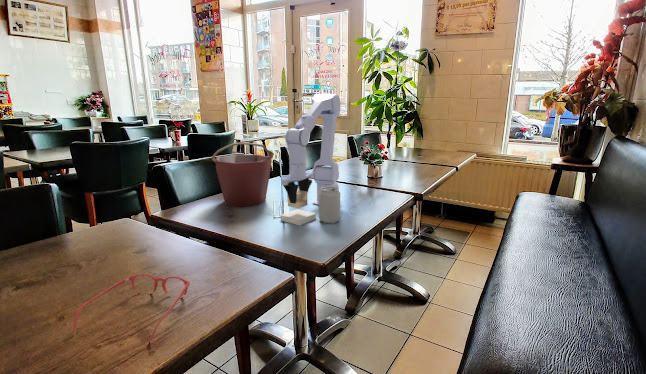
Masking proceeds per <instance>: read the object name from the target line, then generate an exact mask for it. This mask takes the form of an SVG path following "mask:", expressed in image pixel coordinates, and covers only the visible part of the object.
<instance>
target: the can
mask: <svg viewBox="0 0 646 374" xmlns="http://www.w3.org/2000/svg"><path fill="white" fill-rule="evenodd" d="M338 190H339V191H338ZM340 219H341V192H340V188H339V189H338V188H336V187H323V188H321V191H320V192H319V205H318V220H320V221H321V223H323V224H335V223H338V221H339V220H340Z"/></svg>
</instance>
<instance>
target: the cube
mask: <svg viewBox="0 0 646 374" xmlns="http://www.w3.org/2000/svg"><path fill="white" fill-rule="evenodd" d="M287 206H288V207H291V208H294V209H301V208H304V207H306V206H308V193H307V191H301V190H299V189H297V194H296V203H295V204H294V203H290V200H289V197H288V194H287Z"/></svg>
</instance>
